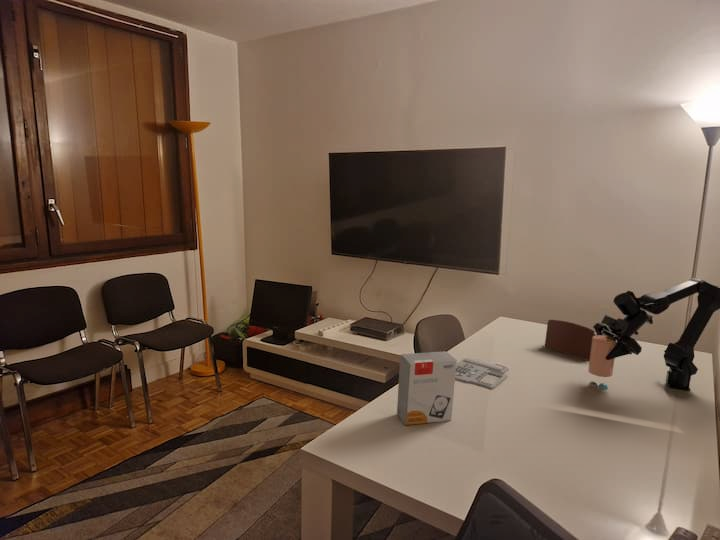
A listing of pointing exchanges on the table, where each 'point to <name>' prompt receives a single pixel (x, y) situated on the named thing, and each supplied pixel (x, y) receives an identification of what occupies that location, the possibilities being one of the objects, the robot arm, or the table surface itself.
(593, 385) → the graphite marble
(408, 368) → the hard drive box
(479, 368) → the office telephone
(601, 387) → the teal marble
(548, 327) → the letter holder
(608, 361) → the faceted domed cylinder
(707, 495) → the table surface
